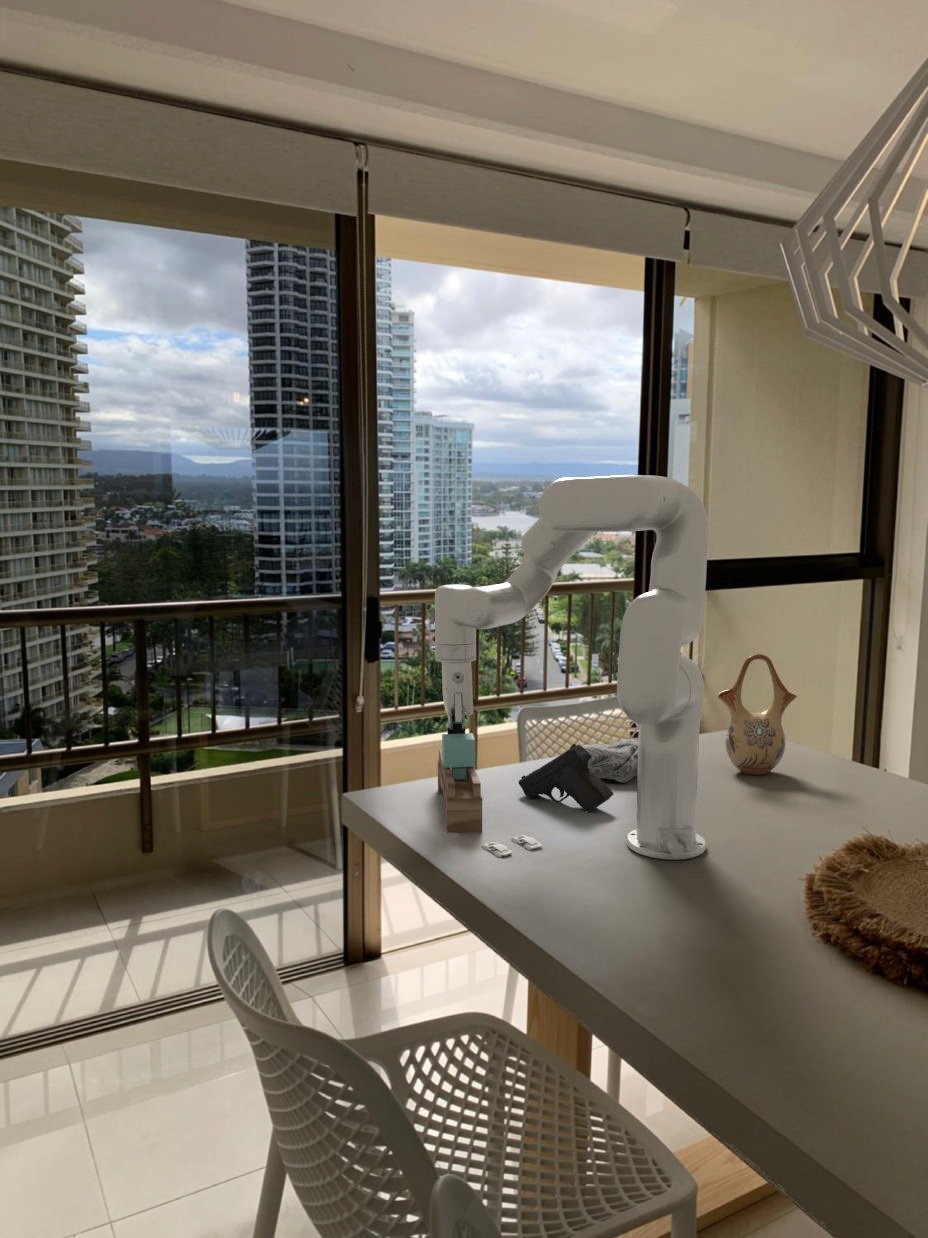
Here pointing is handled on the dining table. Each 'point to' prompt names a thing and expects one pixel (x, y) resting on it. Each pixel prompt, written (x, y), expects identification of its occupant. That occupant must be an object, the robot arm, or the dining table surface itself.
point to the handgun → (568, 780)
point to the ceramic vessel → (756, 725)
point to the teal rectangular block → (458, 753)
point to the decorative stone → (614, 760)
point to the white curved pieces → (504, 850)
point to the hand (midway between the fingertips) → (456, 748)
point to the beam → (461, 799)
